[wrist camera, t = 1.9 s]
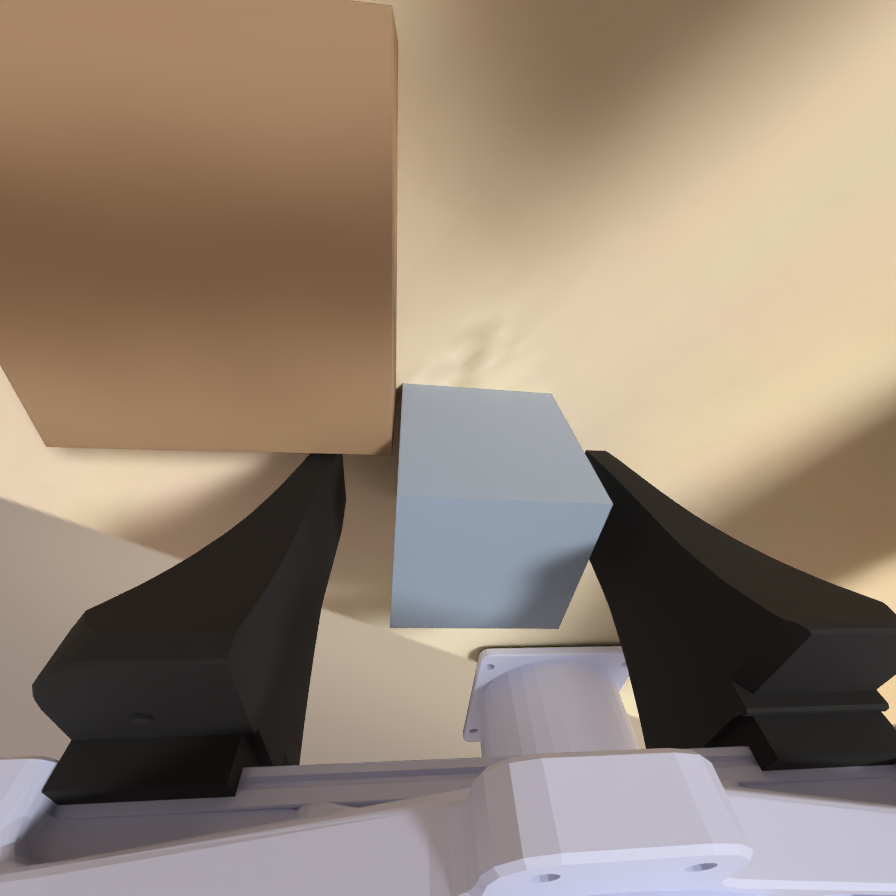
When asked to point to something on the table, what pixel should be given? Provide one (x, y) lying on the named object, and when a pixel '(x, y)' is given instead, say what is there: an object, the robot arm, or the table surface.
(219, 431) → the walnut block
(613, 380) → the table surface
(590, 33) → the table surface
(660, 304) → the table surface
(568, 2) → the table surface
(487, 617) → the blue block
